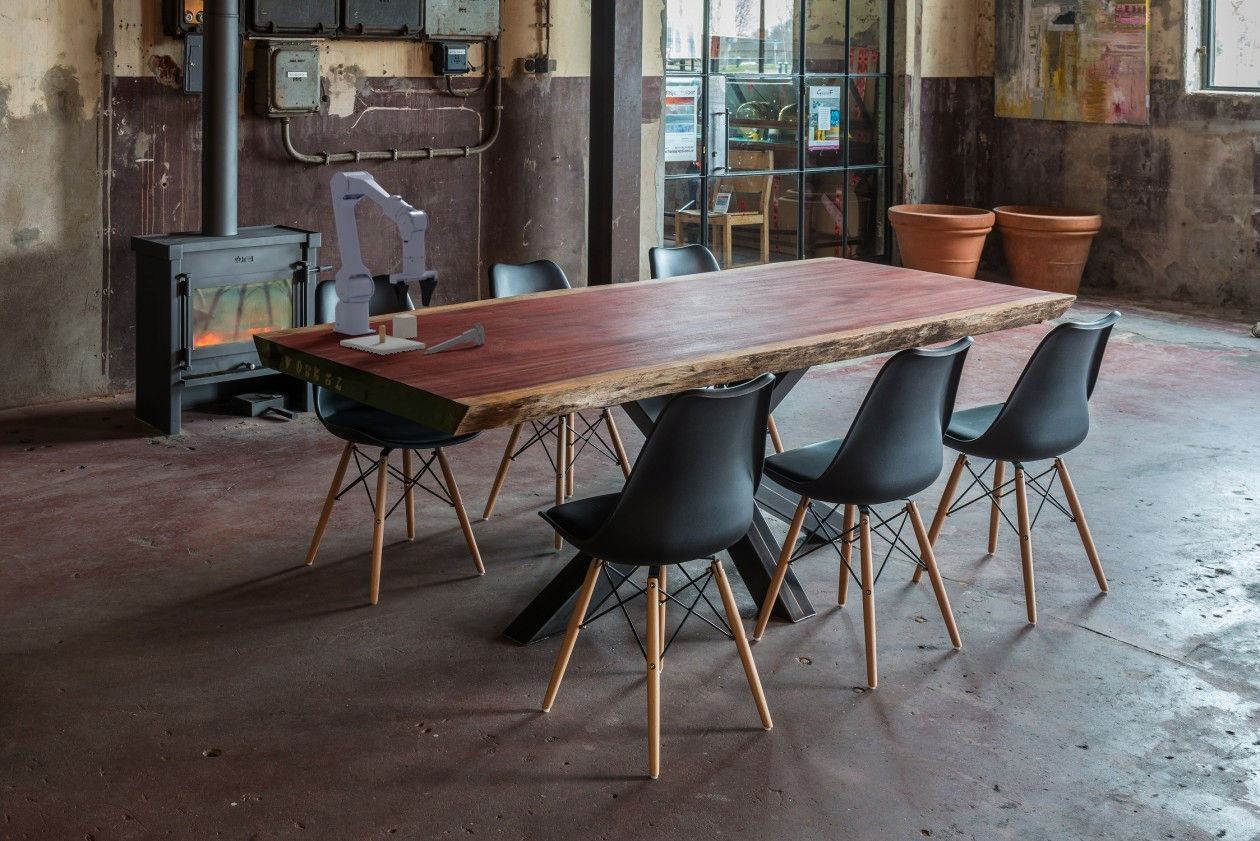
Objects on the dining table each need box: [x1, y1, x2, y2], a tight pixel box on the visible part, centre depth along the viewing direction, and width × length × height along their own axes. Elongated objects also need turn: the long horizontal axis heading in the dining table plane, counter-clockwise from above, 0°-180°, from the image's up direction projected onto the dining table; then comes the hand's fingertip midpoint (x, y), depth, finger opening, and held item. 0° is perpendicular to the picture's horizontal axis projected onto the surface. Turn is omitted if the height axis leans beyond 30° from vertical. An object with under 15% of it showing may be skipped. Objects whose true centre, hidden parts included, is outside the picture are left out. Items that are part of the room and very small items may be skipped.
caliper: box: [423, 322, 486, 355], centre depth 368 cm, size 20×1×6 cm, turn 138°
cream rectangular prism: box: [392, 313, 418, 340], centre depth 383 cm, size 5×5×6 cm
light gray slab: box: [339, 325, 426, 356], centre depth 369 cm, size 18×14×6 cm
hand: (414, 307), depth 372 cm, fingers open, 7 cm apart
